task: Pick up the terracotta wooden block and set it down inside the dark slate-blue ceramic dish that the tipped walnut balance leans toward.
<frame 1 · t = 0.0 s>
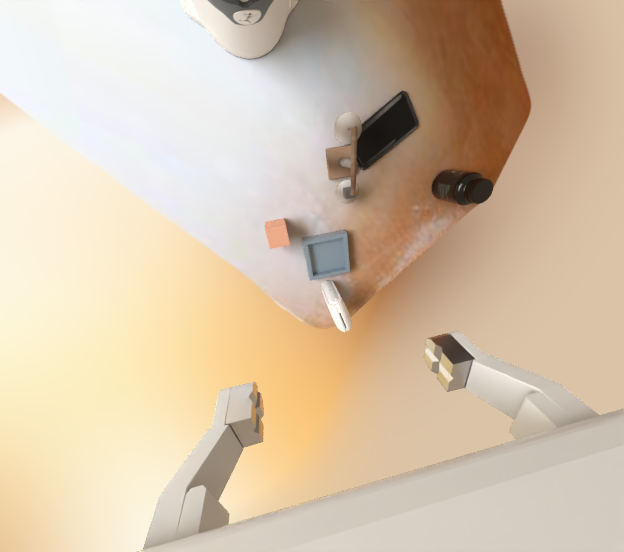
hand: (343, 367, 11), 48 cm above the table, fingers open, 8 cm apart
terracotta block: (276, 229, 56), on the table
tipped balance: (340, 162, 51), on the table
supplement bottle: (443, 184, 58), on the table
phone: (380, 133, 50), on the table
photo printer: (330, 293, 68), on the table
dish: (325, 253, 61), on the table
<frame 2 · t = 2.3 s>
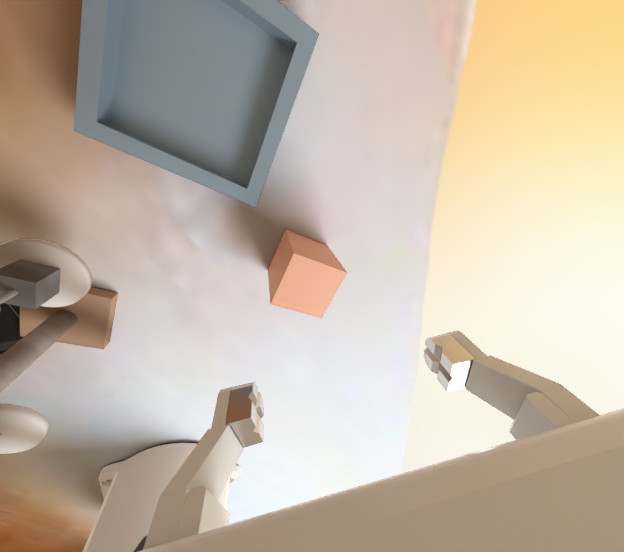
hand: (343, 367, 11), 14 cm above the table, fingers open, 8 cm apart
terracotta block: (297, 257, 23), on the table
tipped balance: (73, 310, 21), on the table
dish: (205, 91, 16), on the table
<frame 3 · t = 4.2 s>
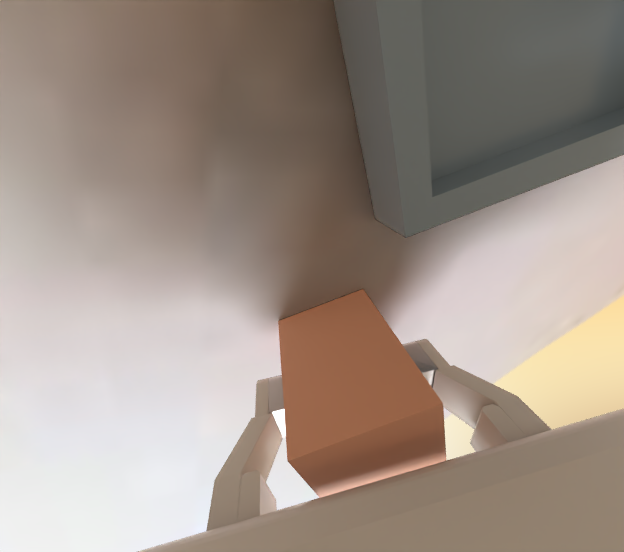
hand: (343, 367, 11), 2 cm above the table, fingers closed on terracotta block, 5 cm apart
terracotta block: (332, 335, 13), on the table, touching gripper
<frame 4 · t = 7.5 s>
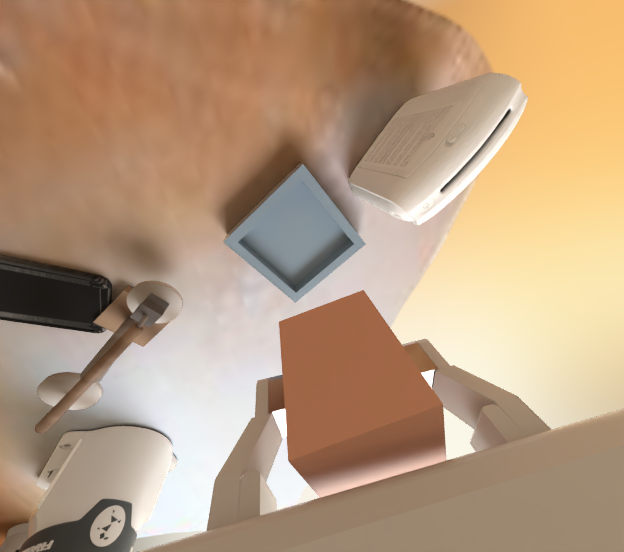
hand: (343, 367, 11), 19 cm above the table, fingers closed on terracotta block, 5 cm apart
terracotta block: (333, 336, 13), point 17 cm above the table, touching gripper
tipped balance: (138, 315, 29), on the table
phone: (32, 288, 25), on the table
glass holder: (43, 524, 47), on the table
photo printer: (384, 155, 25), on the table
dish: (296, 235, 27), on the table
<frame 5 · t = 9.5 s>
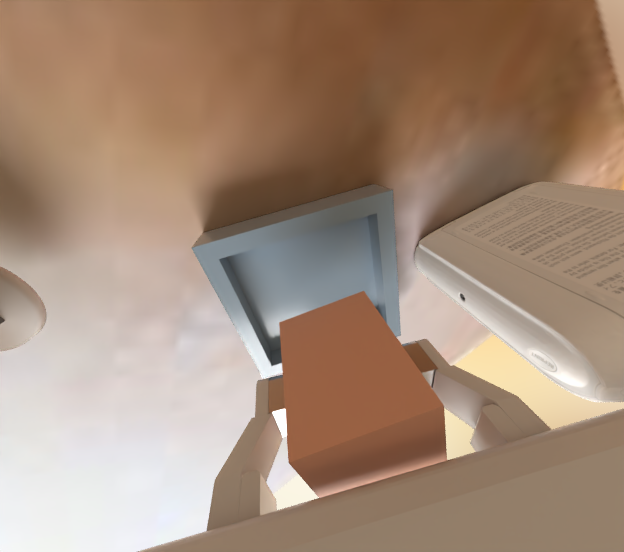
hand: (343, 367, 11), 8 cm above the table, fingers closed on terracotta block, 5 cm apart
terracotta block: (333, 337, 13), point 5 cm above the table, touching gripper
photo printer: (471, 231, 18), on the table
dish: (310, 281, 17), on the table
when the fingers open (5 cm above the table, at t = 11.0 s): terracotta block drops 1 cm, resting on dish.
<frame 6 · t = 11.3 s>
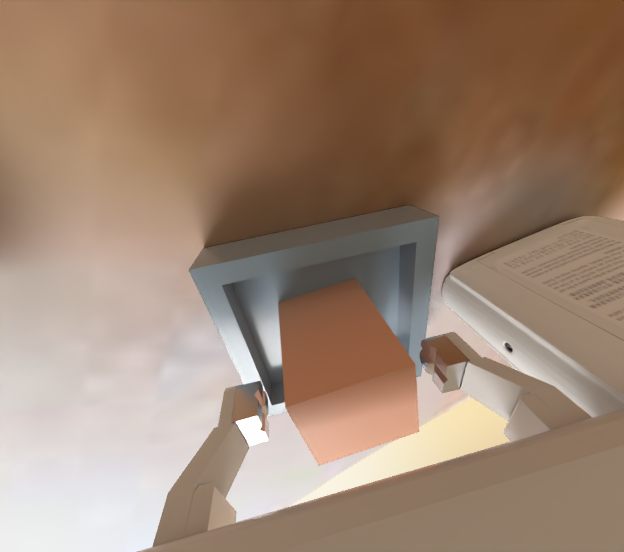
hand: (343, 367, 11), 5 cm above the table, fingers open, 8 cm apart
terracotta block: (325, 320, 14), point 1 cm above the table, touching dish
photo printer: (506, 263, 16), on the table
dish: (323, 308, 15), on the table
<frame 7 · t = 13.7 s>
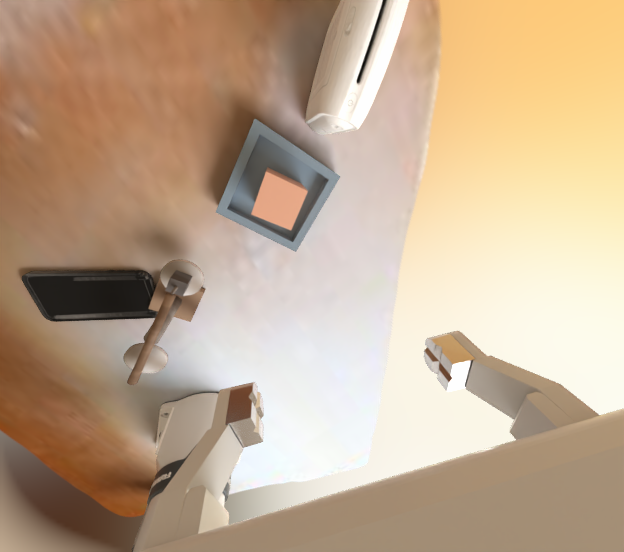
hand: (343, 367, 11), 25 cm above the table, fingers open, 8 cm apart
terracotta block: (278, 193, 29), point 1 cm above the table, touching dish
tipped balance: (178, 296, 35), on the table
phone: (101, 292, 34), on the table
photo printer: (331, 83, 26), on the table
dish: (277, 191, 30), on the table
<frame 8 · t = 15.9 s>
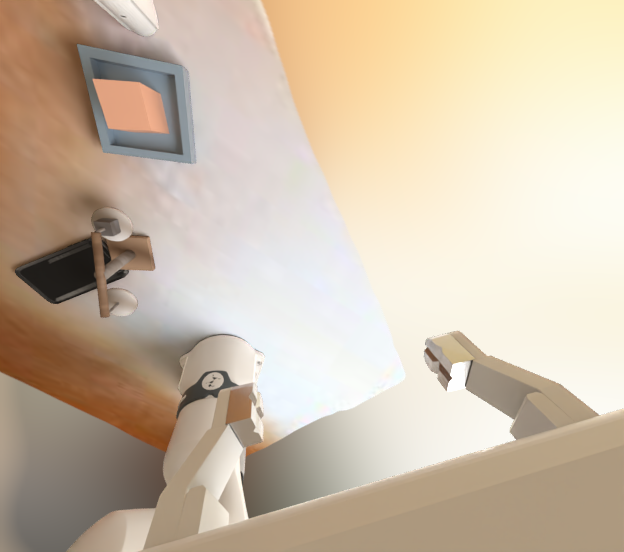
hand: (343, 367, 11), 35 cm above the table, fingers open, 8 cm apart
terracotta block: (147, 113, 31), point 1 cm above the table, touching dish
tipped balance: (133, 251, 40), on the table
phone: (78, 269, 41), on the table
dish: (149, 113, 32), on the table
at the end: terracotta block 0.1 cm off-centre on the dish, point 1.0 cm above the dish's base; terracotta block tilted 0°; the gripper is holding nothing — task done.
